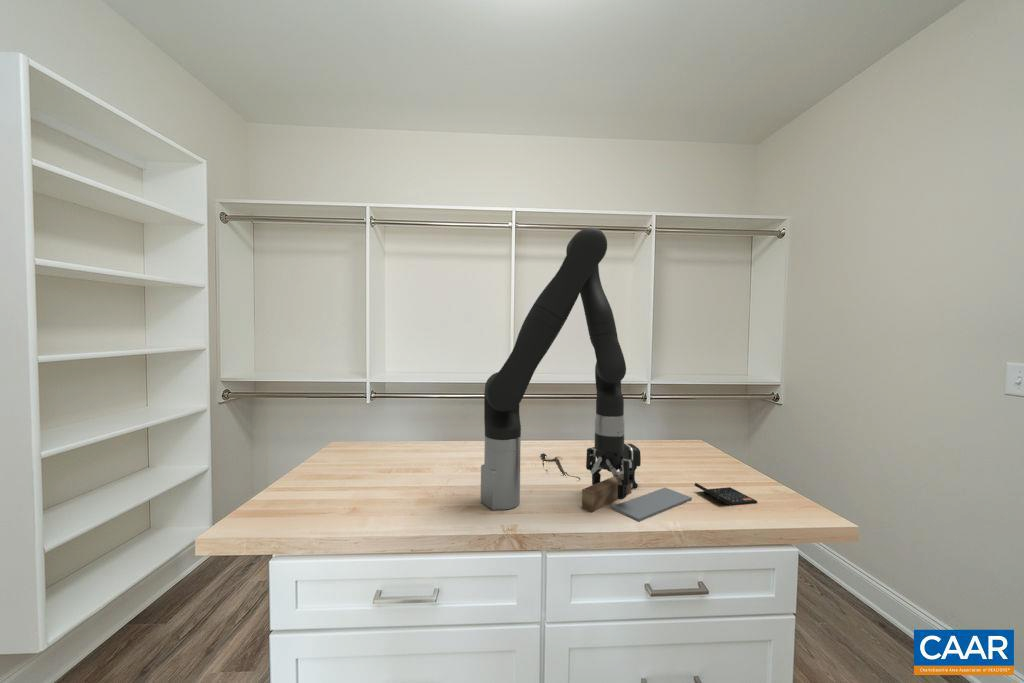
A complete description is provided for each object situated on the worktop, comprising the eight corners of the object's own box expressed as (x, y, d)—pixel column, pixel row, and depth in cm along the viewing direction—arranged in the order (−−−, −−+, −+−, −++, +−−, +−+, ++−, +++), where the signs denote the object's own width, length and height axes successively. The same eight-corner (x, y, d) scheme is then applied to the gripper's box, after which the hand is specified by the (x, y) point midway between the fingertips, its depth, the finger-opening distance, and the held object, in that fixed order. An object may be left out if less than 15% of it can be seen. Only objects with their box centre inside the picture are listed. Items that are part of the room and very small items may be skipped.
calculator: (757, 504, 103) (757, 492, 103) (718, 508, 100) (718, 496, 100) (729, 490, 112) (730, 479, 112) (694, 493, 109) (694, 482, 109)
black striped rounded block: (641, 488, 111) (642, 448, 111) (628, 489, 111) (629, 448, 111) (631, 479, 118) (632, 441, 118) (619, 479, 118) (620, 441, 118)
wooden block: (591, 513, 96) (592, 493, 96) (581, 509, 98) (582, 489, 98) (631, 493, 108) (631, 475, 108) (621, 490, 110) (622, 472, 110)
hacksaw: (539, 456, 140) (539, 452, 140) (568, 457, 140) (568, 452, 140) (546, 482, 116) (546, 477, 116) (581, 482, 116) (581, 477, 116)
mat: (638, 521, 92) (638, 519, 92) (611, 508, 98) (611, 506, 98) (691, 499, 104) (691, 497, 104) (664, 489, 111) (665, 487, 111)
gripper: (579, 427, 107) (578, 487, 107) (621, 439, 95) (620, 506, 95) (598, 424, 111) (598, 481, 111) (641, 435, 99) (640, 499, 100)
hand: (608, 492), depth 103 cm, fingers open, 8 cm apart
